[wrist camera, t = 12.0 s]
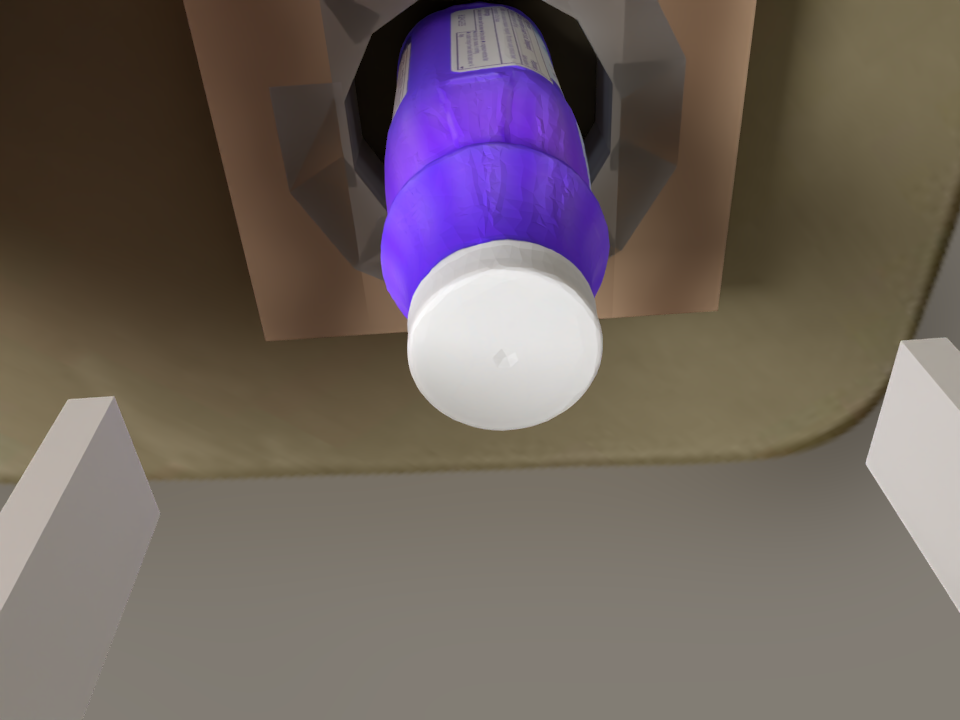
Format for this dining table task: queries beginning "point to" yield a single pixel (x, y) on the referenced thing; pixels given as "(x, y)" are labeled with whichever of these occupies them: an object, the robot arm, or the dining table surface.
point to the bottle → (491, 222)
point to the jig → (361, 175)
